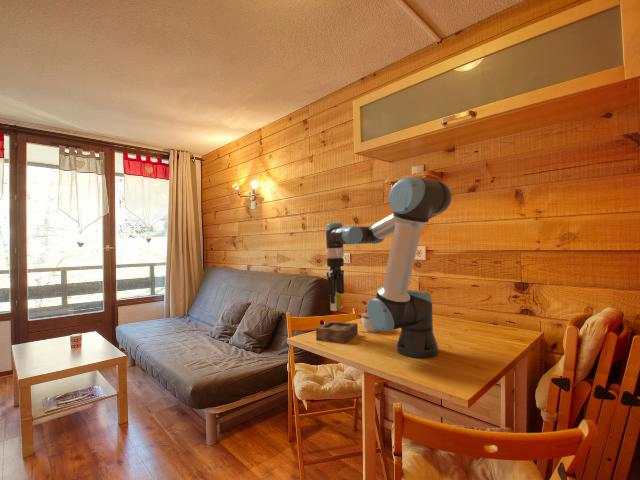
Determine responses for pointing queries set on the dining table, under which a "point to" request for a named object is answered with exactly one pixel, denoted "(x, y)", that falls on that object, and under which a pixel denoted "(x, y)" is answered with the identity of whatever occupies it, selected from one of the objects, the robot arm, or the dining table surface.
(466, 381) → the dining table surface
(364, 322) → the lidded jar
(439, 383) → the dining table surface
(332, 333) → the walnut base
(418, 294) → the robot arm
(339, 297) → the lemon
